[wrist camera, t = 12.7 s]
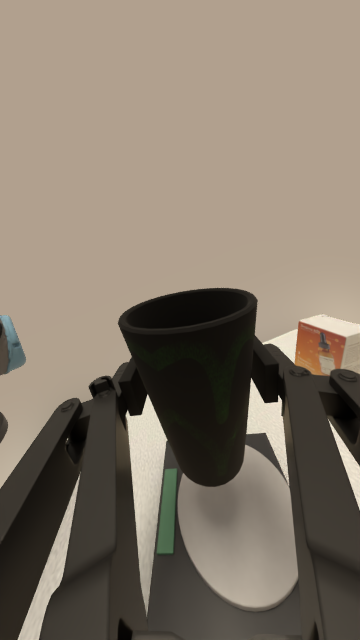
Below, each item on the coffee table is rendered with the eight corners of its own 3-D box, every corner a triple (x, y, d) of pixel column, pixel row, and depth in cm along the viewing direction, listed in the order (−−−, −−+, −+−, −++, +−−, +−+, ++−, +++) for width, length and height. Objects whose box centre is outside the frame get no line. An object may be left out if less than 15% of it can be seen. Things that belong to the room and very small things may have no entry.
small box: (293, 367, 35) (296, 320, 32) (315, 359, 36) (321, 313, 33) (335, 394, 28) (346, 336, 24) (362, 384, 29) (376, 327, 25)
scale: (151, 652, 12) (141, 639, 11) (169, 451, 24) (165, 436, 23) (355, 660, 11) (365, 647, 10) (265, 444, 23) (265, 428, 22)
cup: (185, 398, 19) (164, 291, 15) (262, 417, 15) (261, 284, 11) (142, 476, 13) (85, 328, 9) (255, 540, 9) (246, 337, 5)
